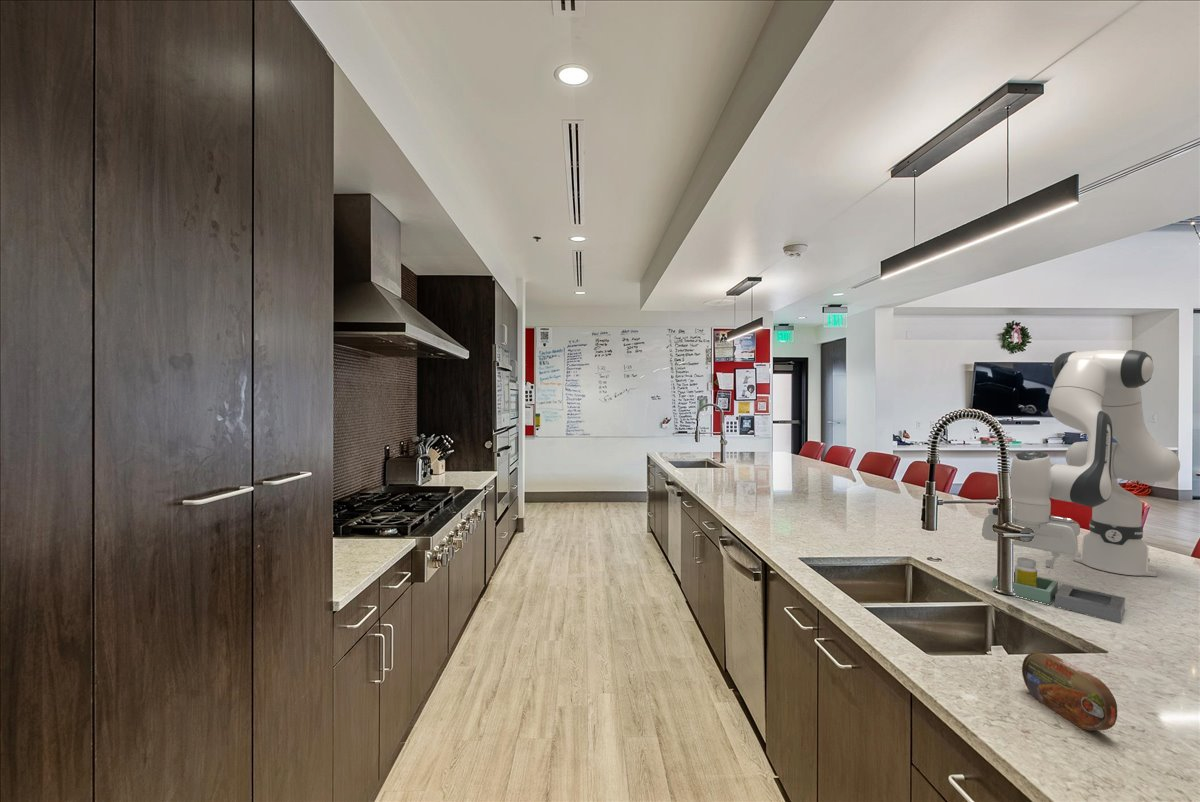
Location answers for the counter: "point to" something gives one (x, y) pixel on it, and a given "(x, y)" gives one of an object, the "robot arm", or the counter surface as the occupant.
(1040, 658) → the tin
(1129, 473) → the robot arm
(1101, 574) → the counter surface
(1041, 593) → the tray
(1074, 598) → the grey slotted block
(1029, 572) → the supplement bottle
